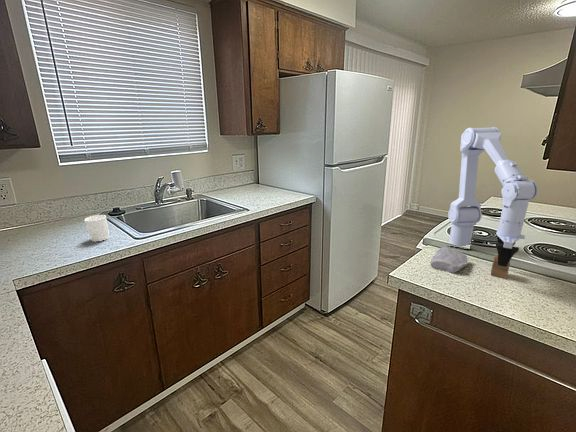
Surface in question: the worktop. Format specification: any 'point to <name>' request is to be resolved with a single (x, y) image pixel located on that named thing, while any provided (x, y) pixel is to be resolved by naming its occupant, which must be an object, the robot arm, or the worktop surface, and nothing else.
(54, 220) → the worktop surface
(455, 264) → the stone block
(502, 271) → the walnut block
